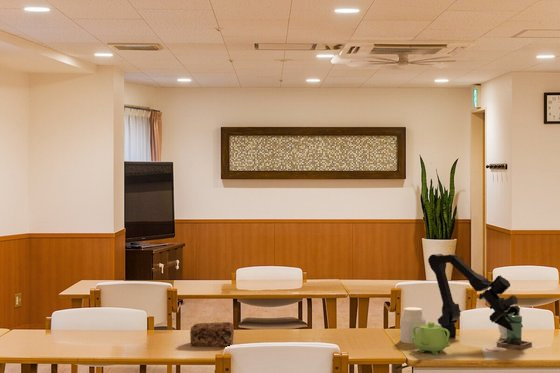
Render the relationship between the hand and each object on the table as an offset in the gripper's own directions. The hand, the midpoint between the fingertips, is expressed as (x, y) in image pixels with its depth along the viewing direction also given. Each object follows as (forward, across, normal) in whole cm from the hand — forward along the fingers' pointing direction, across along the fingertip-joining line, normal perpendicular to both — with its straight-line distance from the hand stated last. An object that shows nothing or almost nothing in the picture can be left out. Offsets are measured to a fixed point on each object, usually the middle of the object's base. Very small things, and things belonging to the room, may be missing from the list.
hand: (517, 328), depth 357 cm
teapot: (-10, -34, +22) cm, 42 cm away
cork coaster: (+3, -12, +9) cm, 15 cm away
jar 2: (-3, +17, +15) cm, 23 cm away
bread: (-66, -89, +78) cm, 136 cm away
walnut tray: (+5, 0, +7) cm, 9 cm away
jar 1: (-23, -20, +35) cm, 47 cm away
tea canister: (+4, 0, +6) cm, 7 cm away
